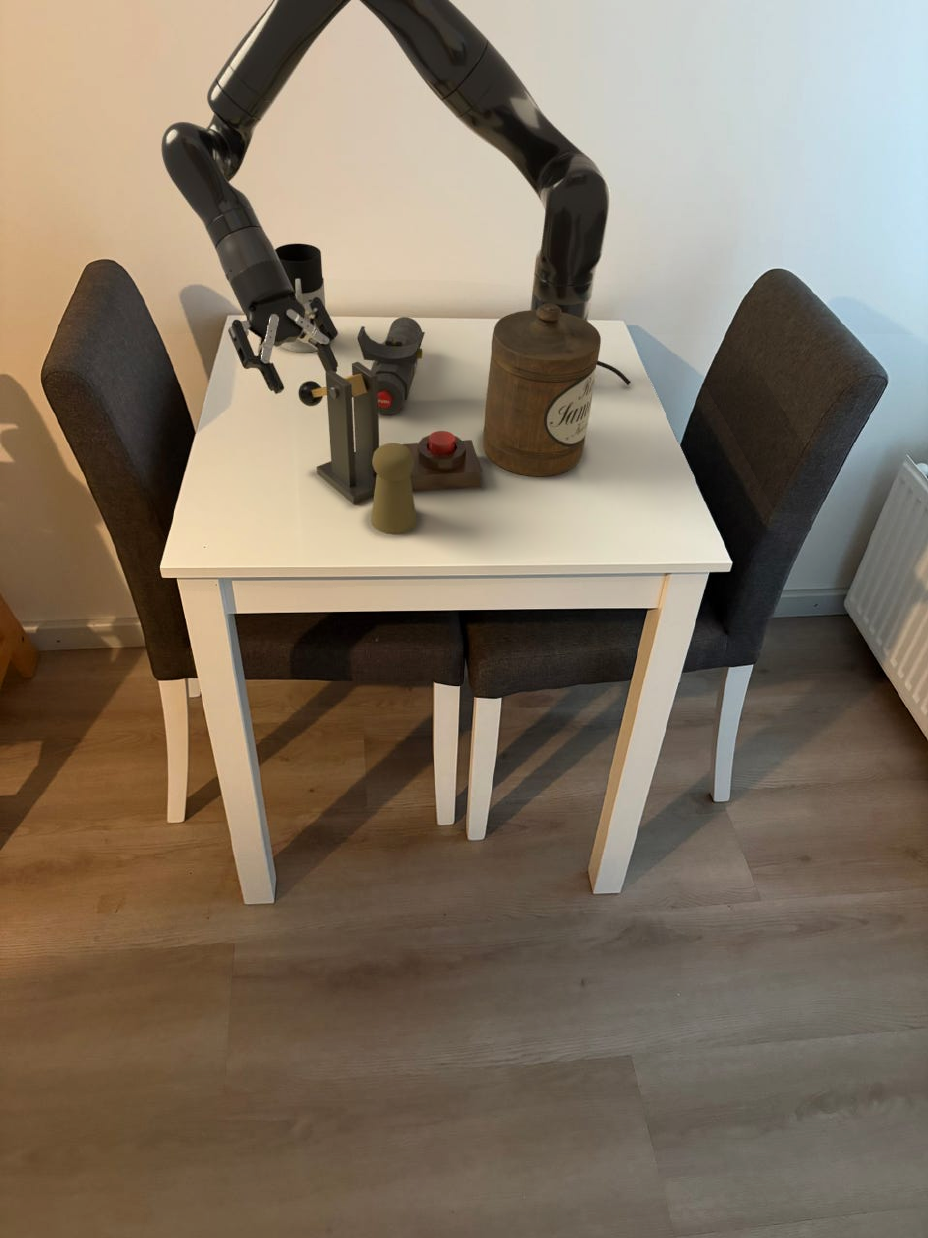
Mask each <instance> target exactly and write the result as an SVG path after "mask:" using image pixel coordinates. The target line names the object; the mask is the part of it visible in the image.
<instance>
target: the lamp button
mask: <svg viewBox="0 0 928 1238" xmlns="http://www.w3.org/2000/svg"><path fill="white" fill-rule="evenodd" d="M429 435H430V436H429ZM429 435H428V436H429V450H430V452H432V453H434V454H438V455H449V454H451V453H453V452H454V451H455V436H456V435H454V433H452V432H450V431H446V430H437V431H433V432H432V433H431V434H429Z"/></svg>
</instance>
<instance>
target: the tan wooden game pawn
mask: <svg viewBox="0 0 928 1238" xmlns="http://www.w3.org/2000/svg"><path fill="white" fill-rule="evenodd" d="M403 444H404V443H398V442H388V443H384V444H381V445H379V447H378V448H377V449H376V451H375V452H374V455H373V459H372V462H373V467H374V470H375V472H376V473H377V478H376V486H375V493H374V496H373V500H372V501H373V503H372V508H371V509H372V510H371V518H370V523H371V526H373V527H374V529H375V530H377V531H378V532H380V533H383V534H387V535H401V534H402V535H403V534H404V533H408V532H409V531H411V530H413V529H414V528H415V526H416V525H417V521H418V519H417V512H416V505H415V498H414V493H413V491H412V485H411V478H410V473H411V472H412V470H413V466H414V457H413V454H412V452H411V450H410V449H409V448H408V447H407V446H405V445H403Z"/></svg>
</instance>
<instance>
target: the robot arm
mask: <svg viewBox="0 0 928 1238" xmlns="http://www.w3.org/2000/svg"><path fill="white" fill-rule="evenodd" d="M351 1H352V0H272V1H271V2H270V4H269V5H268V6H267V7H266V9H265V11H264V12H263V13H262V14H261V15H260V17H258V19H257V21H255V22H254V24H252V26H251V27H250V29H248V31H247V32H246V33H245V35H244V36H243V38H242V39H241V40H240V41H239V43H238V44H237V46H236V47H235V48H234V50H233V51H232V52H231V54H230V55H229V57H227V60H226V62H225V63H224V64H223V66H222V67H221V69H220V71H219V72H218V73H217V75H216V77H215V78H214V80H213V81H212V83H211V85H210V86H209V88H208V90H207V94H206V101H207V104H208V107H209V109H210V111H212V113H213V115H212V118H211V120H210V122H209V125H208V126H207V127H203V126H200V125H199V124H196V123H192V122H188V121H179V122H178V121H177V122H175V123H172V124H171V125H169V126H168V127H167V128H166V129H165V131H164V133H163V135H162V138H161V144H160V146H161V147H160V151H161V158H162V162H163V165H164V167H165V170H166V172H167V174H168V176H169V178H170V179H171V181H172V183H173V184H174V185H175V187H176V188H177V190H178V191H179V192H180V194H181V195H182V197H183V198H184V199H185V201H186V202H187V203H188V205H189V206H190V207H191V209H192V210H193V211H194V213H195V214H196V215H197V216H198V217H199V219H200V220H201V221H202V223H203V226H204V228H205V230H206V233H207V235H208V237H209V239H210V241H211V243H212V246H213V247H214V250H215V251H216V253H217V257H218V260H219V262H220V266H221V268H222V270H223V273H224V276H225V279H226V280H227V281H228V283H229V285H230V287H231V289H232V292H233V294H234V296H235V298H236V300H237V302H238V305H239V306H240V308H241V311H242V313H243V314H244V315H245V318H246V320H243V321H240V320H239V319H234V320H233V321H232V323H231V324H230V326H229V328H228V329H227V332H228V334H229V337H230V339H231V342H232V344H233V346H234V349H235V351H236V354H237V356H238V359H239V361H240V363H241V365H242V368H243V369H245V370H249V369H257V370H258V371H259V372H260V374H261V375H262V378H263V380H264V382H265V384H266V386H267V388H268V389H269V390H270V391H271V392H274V394H275V395H277V394H281V393H282V392H283V391H284V390H285V386H284V383H283V381H282V378H281V377H280V375H279V373H278V371H277V368H276V365H275V364H274V362H270V361H271V356H272V352H273V348H274V347H275V348H277V347H281V345H282V344H283V343H290V342H294V341H295V340H296V339H298V340H300V341H301V342H303V343H307V344H309V345H311V346H312V347H314V348H315V349H317V350H318V351H316V355H317V357H318V359H319V361H320V363H321V365H322V367H323V370H324V371H325V372H327V371H330V370H332V371H334V372H335V373H337V372H338V367H339V363H338V360H337V358H336V356H335V354H334V352H333V350H332V347H331V343H332V342H333V341H334V340H335V338H337V336H339V331H338V330H337V328H336V326H335V324H334V321H333V320H332V318H331V316H330V315H329V312H328V310H327V308H326V306H325V307H324V305H323V303H322V301H321V299H320V298H318V297H315V298H314V299H313V300H312V301H311V302H308V303H305V304H301V303H300V302H299V301H298V300H297V299H296V296H295V293H294V290H293V287H292V285H291V283H290V281H289V279H288V277H287V275H286V273H285V270H284V268H283V266H282V264H281V262H280V260H279V258H278V256H277V253H276V251H275V249H276V248H275V247H274V245H273V244H272V241H271V240H270V238H269V237H268V235H267V234H266V232H265V230H264V228H263V226H262V223H261V222H260V219H259V218H258V216H257V213H256V211H255V209H254V208H253V205H252V203H251V202H250V200H249V198H248V197H247V196H246V195H245V193H243V192H242V191H241V190H239V189H237V188H236V187H234V186H233V185H232V184H231V183H230V182H231V181H232V180H233V179H234V178H235V177H236V176H237V174H238V173H239V171H240V169H241V167H242V165H243V163H244V160H245V158H246V155H247V152H248V149H249V147H250V145H251V142H252V139H253V136H254V133H255V130H256V127H257V126H258V125H259V124H260V122H262V119H263V118H264V117H265V116H266V114H267V112H268V111H269V109H270V108H271V107H272V105H273V104H274V103H275V102H276V101H277V98H278V97H279V95H280V94H281V92H282V91H283V89H284V88H285V86H286V85H287V83H288V82H289V81H290V78H291V77H292V75H293V74H294V72H295V71H296V69H297V68H298V66H299V65H300V63H301V62H302V60H303V59H304V57H305V56H306V54H307V53H308V51H309V50H310V48H311V47H312V46H313V44H314V43H315V41H316V40H317V39H318V38H319V36H320V35H321V34H322V33H323V31H324V30H326V28H327V26H329V24H331V23H332V21H333V20H334V19H335V18H336V17H337V15H338V14H340V12H341V11H342V10H343V9H344V8H345V7H346V6H347V5H348V4H349V3H350V2H351ZM359 2H360V3H361V4H362V5H364V7H365V8H366V9H368V10H369V11H370V12H371V13H372V14H373V15H374V16H375V17H376V18H377V19H378V20H379V21H380V22H381V24H383V26H384V27H385V28H386V29H387V30H388V31H389V33H390V34H391V35H392V37H393V39H394V40H395V41H396V43H397V44H398V46H399V47H400V49H401V50H402V52H403V53H404V55H405V57H406V58H407V60H408V61H409V62H410V64H411V65H412V66H413V68H414V70H415V71H416V72H417V73H418V75H419V76H420V78H421V79H422V80H423V82H425V84H426V85H427V86H428V88H429V90H431V92H433V94H434V95H435V96H436V97H437V98H438V99H439V100H440V102H441V103H443V105H444V106H445V107H446V108H447V109H448V110H449V111H450V113H452V114H453V116H455V118H457V120H459V122H461V123H462V124H463V125H464V126H465V127H466V128H467V129H469V131H471V132H472V133H473V134H475V136H476V137H479V138H480V139H481V140H482V141H484V142H485V143H487V144H488V145H490V147H492V148H494V149H496V150H497V151H498V152H500V153H501V155H504V156H505V157H506V159H508V160H509V161H510V162H511V163H512V164H513V165H514V167H515V168H516V169H517V170H518V172H519V173H520V174H521V175H522V176H523V178H524V179H525V180H526V181H527V183H528V184H529V185H530V187H531V189H532V190H533V191H534V193H535V194H536V196H537V197H538V199H539V201H540V203H541V204H542V207H543V209H544V220H543V221H544V222H543V230H542V238H541V245H540V248H539V250H538V251H537V253H536V254H535V255H536V256H535V260H534V261H535V262H534V270H533V271H534V272H533V280H532V292H531V300H530V309H529V310H537V309H538V308H539V307H540V306H541V305H544V304H547V303H552V304H555V305H557V306H558V307H559V308H560V309H561V311H562V313H566V314H570V315H573V316H576V317H579V318H581V319H583V320H585V321H587V322H589V317H590V311H591V305H592V296H593V291H594V283H595V277H596V271H597V266H598V265H599V263H600V261H601V259H602V255H603V250H604V244H605V240H606V233H607V229H608V222H609V217H610V210H611V189H610V186H609V183H608V182H607V179H606V178H605V176H604V175H603V173H602V172H601V170H600V168H599V167H598V165H597V164H596V163H595V162H594V161H593V160H592V159H591V158H590V157H589V156H588V155H587V154H586V153H584V152H583V151H582V150H581V149H579V147H577V145H575V144H574V143H573V142H572V141H570V140H569V139H568V138H567V137H566V136H565V134H564V133H562V132H561V131H560V130H559V129H558V128H557V127H556V126H555V125H554V124H553V123H552V122H551V121H550V120H549V118H547V116H545V114H544V112H542V111H543V110H541V108H540V107H539V105H538V104H537V103H536V101H535V99H534V98H533V96H532V95H531V93H530V91H529V90H528V88H527V87H526V85H525V84H524V83H523V81H522V80H521V78H520V77H519V76H518V75H517V73H516V72H515V71H514V68H512V67H511V65H510V64H509V63H508V61H507V60H506V58H504V56H502V54H501V53H500V51H499V50H498V49H497V48H496V47H495V46H494V45H493V44H492V42H491V41H490V40H489V38H487V37H486V35H484V33H482V31H480V29H479V28H478V27H477V26H476V25H475V24H474V23H473V22H472V21H471V20H470V19H469V18H468V17H467V15H465V14H464V13H463V12H462V11H461V10H460V9H459V8H458V7H457V6H456V5H455V4H454V3H453V2H452V1H450V0H359ZM305 313H306V314H307V315H308V316H309V318H313V320H314V322H315V324H316V326H317V328H318V329H319V331H320V332H319V331H318V330H317V329H316V327H315V326H314V325H312V324H311V323H309V322H308V321H306V320H305V319H304V316H305ZM302 329H303V330H304V331H305V332H303V331H302ZM249 331H250V332H251V333H252V334H254V336H255V335H256V337H258V338H259V343H258V348H257V355H255V352H254V350H253V348H252V347H253V346H252V345H251V342H250V340H249V338H248V336H249V335H250V332H249ZM597 366H599V367H600V368H601V367H602V368H604V369H606V370H608V371H610V372H612V373H614V374H615V375H617V376H618V377H619V378H620V379H621V380H622V381H623V382H624V383H625V384H626V386H629V385H630V384H631V383H632V381H631V380H630V379H629V378H628V377H627V376H626V375H625V374H624V373H622V371H620V370H619V369H617V368H616V367H614V366H612V365H610V364H608V363H606V362H603V361H601V360H598V361H597Z"/></svg>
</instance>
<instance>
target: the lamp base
mask: <svg viewBox="0 0 928 1238" xmlns="http://www.w3.org/2000/svg"><path fill="white" fill-rule="evenodd" d="M430 435H431V434H429V435H427V436H424V437H422V438H421V440H420V441H419V442H411V443H409V442H408V443H402V444H403V445H405V446H407V447H408V448H409V449H410V450H411V452H412V454H413V457H414V466H413V470H412V472H411V473H410V478H411V485H412V491H413V492H430V491H432V492H433V491H447V490H448V491H449V490H464V489H479V488H481V487H482V477H483V476H482V475H483V471H482V468H481V464H480V461H479V459H478V455H477V452H476V448H475V446H474V443H473V440H472V439H469V440H462V439H461V438H460V437H458V436H457V435H454V436H455V451H454V452H453V453H451V454H449V455H438V454H434V453H432V452H430V450H429V436H430Z"/></svg>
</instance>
